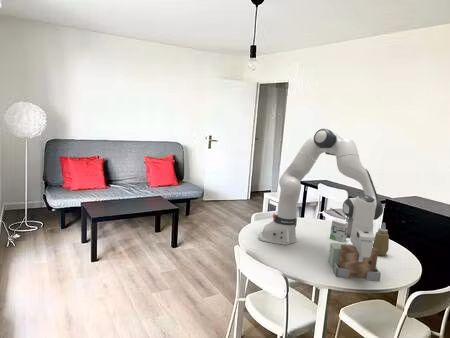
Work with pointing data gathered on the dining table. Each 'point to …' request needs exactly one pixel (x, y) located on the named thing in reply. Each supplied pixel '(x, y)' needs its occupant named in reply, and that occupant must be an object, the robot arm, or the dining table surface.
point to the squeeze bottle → (381, 240)
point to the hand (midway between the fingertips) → (358, 258)
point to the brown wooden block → (351, 261)
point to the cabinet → (343, 272)
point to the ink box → (339, 230)
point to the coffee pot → (350, 222)
